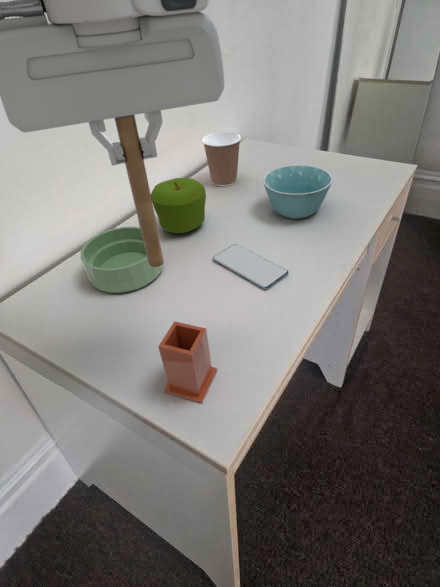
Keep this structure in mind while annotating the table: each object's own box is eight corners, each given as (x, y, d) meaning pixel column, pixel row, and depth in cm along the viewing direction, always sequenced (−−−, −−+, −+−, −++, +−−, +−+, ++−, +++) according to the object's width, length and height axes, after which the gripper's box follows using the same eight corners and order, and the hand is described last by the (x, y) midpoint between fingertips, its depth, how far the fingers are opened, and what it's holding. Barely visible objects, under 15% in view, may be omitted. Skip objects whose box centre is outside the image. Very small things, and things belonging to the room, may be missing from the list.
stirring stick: (145, 265, 48) (109, 116, 36) (153, 257, 49) (120, 111, 37) (159, 268, 47) (127, 117, 35) (166, 259, 48) (137, 111, 37)
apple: (191, 245, 82) (185, 198, 75) (146, 234, 87) (136, 189, 79) (217, 218, 90) (213, 174, 83) (175, 210, 95) (168, 167, 87)
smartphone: (266, 288, 68) (211, 257, 77) (266, 291, 69) (211, 259, 77) (290, 271, 72) (235, 243, 80) (289, 273, 72) (235, 245, 81)
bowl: (263, 227, 86) (264, 194, 80) (262, 196, 97) (262, 165, 92) (333, 226, 84) (338, 192, 79) (323, 194, 96) (326, 163, 90)
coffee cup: (227, 170, 111) (225, 129, 104) (249, 181, 105) (248, 137, 97) (199, 181, 107) (194, 138, 99) (220, 192, 101) (216, 148, 93)
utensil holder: (164, 392, 54) (151, 348, 47) (181, 360, 58) (172, 317, 51) (202, 403, 52) (194, 360, 45) (217, 370, 56) (212, 326, 50)
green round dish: (74, 287, 74) (63, 262, 70) (115, 245, 84) (109, 222, 80) (140, 301, 69) (133, 276, 65) (175, 255, 79) (171, 231, 76)
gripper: (-50, 5, 26) (30, 191, 35) (226, -20, 30) (233, 151, 39) (-35, 3, 30) (32, 168, 39) (202, -18, 35) (213, 134, 44)
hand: (134, 159), depth 39 cm, fingers closed on stirring stick, 2 cm apart
